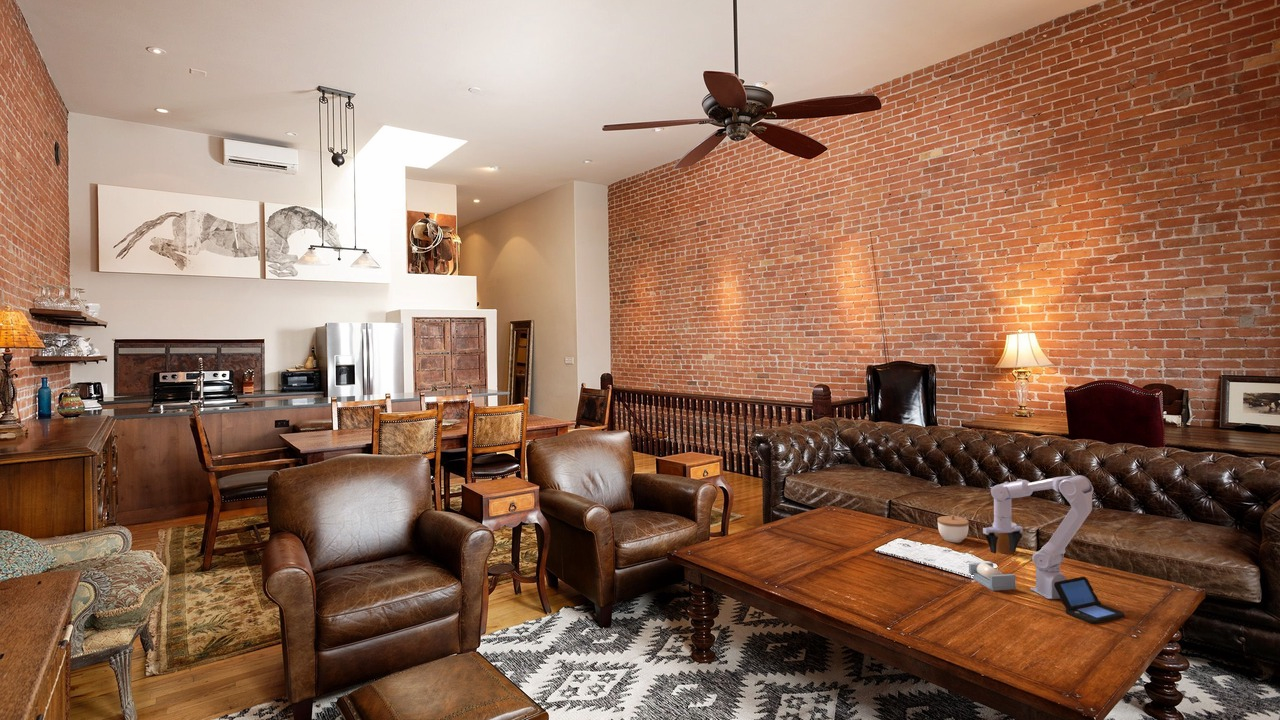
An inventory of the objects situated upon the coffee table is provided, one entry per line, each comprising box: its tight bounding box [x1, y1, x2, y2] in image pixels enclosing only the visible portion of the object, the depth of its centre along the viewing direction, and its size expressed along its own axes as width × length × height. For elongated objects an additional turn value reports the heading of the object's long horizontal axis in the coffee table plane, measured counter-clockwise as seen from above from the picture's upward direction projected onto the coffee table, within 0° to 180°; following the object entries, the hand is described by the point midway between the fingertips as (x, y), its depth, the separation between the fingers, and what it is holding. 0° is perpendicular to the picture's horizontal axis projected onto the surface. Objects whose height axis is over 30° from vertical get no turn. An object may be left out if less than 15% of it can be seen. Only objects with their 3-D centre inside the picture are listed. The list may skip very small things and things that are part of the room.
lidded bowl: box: [937, 514, 970, 543], centre depth 286 cm, size 13×13×11 cm
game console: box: [1054, 576, 1125, 625], centre depth 210 cm, size 16×14×9 cm
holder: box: [968, 561, 1017, 592], centre depth 237 cm, size 14×9×5 cm, turn 6°
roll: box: [977, 562, 1003, 581], centre depth 237 cm, size 8×5×5 cm, turn 6°
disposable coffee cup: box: [991, 521, 1018, 555], centre depth 269 cm, size 10×10×12 cm
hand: (1002, 552), depth 239 cm, fingers open, 7 cm apart
